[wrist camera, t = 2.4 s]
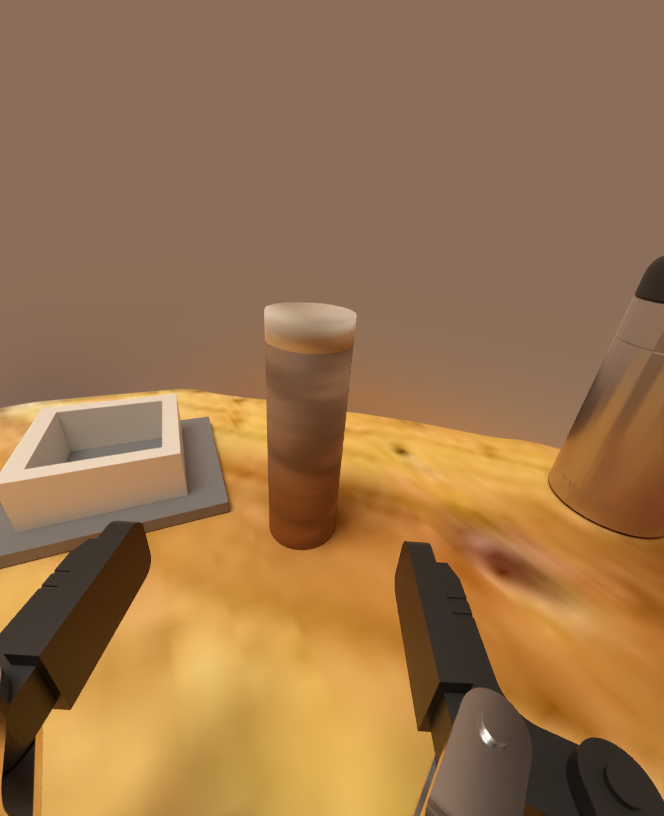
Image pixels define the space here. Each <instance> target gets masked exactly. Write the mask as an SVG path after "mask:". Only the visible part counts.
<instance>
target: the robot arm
mask: <svg viewBox="0 0 664 816" xmlns="http://www.w3.org/2000/svg"><path fill="white" fill-rule="evenodd" d="M635 295H636V296H634V297H633V299H632V301H631V303H630V305H629V307H628V309H627V311H626V314H625V315H624V317H623V320H622V322H621V324H620V326H619V328H618V330H617V332H616V335H615V337H614V339H613V341H612V343H611V345H610V347H609V349H608V352H607V354H606V356H605V358H604V360H603V362H602V365H601V366H600V368H599V370H598V373H597V375H596V377H595V379H594V381H593V383H592V385H591V387H590V389H589V392H588V394H587V396H586V398H585V400H584V402H583V404H582V406H581V408H580V410H579V412H578V414H577V417H576V419H575V421H574V423H573V425H572V427H571V429H570V431H569V433H568V435H567V438H566V440H565V442H564V444H563V446H562V448H561V450H560V452H559V454H558V456H557V459H556V461H555V463H554V465H553V467H552V469H551V471H550V473H549V476H548V479H549V483H550V486H551V488H552V489H553V491H554V492H555V493H556V495H557V496H558V497H559V498H560V499H561V500H562V501H563V502H565V503H566V504H567V505H568V506H570V507H571V508H572V509H574V510H575V511H577V512H578V513H580V514H581V515H583V516H585V517H586V518H588V519H590V520H592V521H594V522H596V523H598V524H600V525H602V526H605V527H607V528H610V529H612V530H615V531H618V532H621V533H625V534H628V535H633V536H638V537H650V538H654V537H660V536H663V535H664V256H662V257H659V258H658V259H656V260H655V261H654V262H652V264H651V265H650V266H649V267H648V268H647V270H646V272H645V274H644V276H643V278H642V280H641V282H640V284H639V286H638V288H637V290H636V292H635ZM150 564H151V554H150V550H149V546H148V542H147V538H146V534H145V530H144V526H143V524H142V523H141V522H130V521H112V522H111V523H109V524H108V525H107V527H106V528H105V529H104V530H103V532H102V533H101V534H100V535H99V536H98V538H89V539H88V540H86V541H85V542H84V543H82V544H81V545H80V546H78V547H77V548H75V549H74V550H73V551H71V552H70V553H69V554H68V555H67V556H66V558H65V559H64V560H63V561H62V562H61V563H60V565H59V566H58V567H57V568H56V569H55V572H54V573H53V574H51V575H50V576H49V577H48V578H47V580H46V581H45V582H44V583H43V584H42V587H41V589H38V590H37V591H36V592H35V594H34V595H33V596H32V597H31V598H30V599H29V601H28V602H27V603H26V604H25V605H24V606H23V608H22V609H21V610H20V611H19V612H18V613H17V614H16V616H15V617H14V618H13V619H12V620H11V621H10V623H9V624H8V625H7V626H6V627H5V628H4V630H3V631H2V632H1V633H0V816H41V804H42V753H43V729H42V725H43V723H44V721H45V720H46V718H47V717H48V715H49V713H50V712H51V710H52V709H64V710H71V708H72V707H73V705H74V703H75V701H76V700H77V698H78V696H79V694H80V693H81V691H82V689H83V687H84V686H85V684H86V682H87V680H88V679H89V677H90V675H91V673H92V672H93V670H94V668H95V666H96V665H97V663H98V661H99V659H100V658H101V656H102V654H103V652H104V651H105V649H106V647H107V645H108V643H109V642H110V640H111V638H112V636H113V635H114V633H115V631H116V629H117V628H118V626H119V624H120V622H121V621H122V619H123V617H124V615H125V614H126V612H127V610H128V608H129V607H130V605H131V603H132V601H133V600H134V598H135V596H136V594H137V593H138V591H139V589H140V587H141V586H142V584H143V582H144V580H145V579H146V577H147V574H148V572H149V568H150ZM395 595H396V601H397V607H398V613H399V619H400V626H401V632H402V638H403V644H404V650H405V656H406V662H407V668H408V674H409V680H410V686H411V692H412V698H413V704H414V710H415V717H416V723H417V729H418V731H424V732H431V734H432V740H433V745H434V750H435V753H434V755H433V758H432V761H431V764H430V766H429V769H428V772H427V775H426V777H425V780H424V783H423V786H422V788H421V791H420V794H419V797H418V799H417V802H416V805H415V808H414V810H413V813H412V816H664V801H663V799H662V797H661V795H660V793H659V792H658V790H657V788H656V787H655V785H654V783H653V782H652V780H651V779H650V778H649V776H648V775H647V774H646V772H645V771H644V770H643V769H642V768H641V766H640V765H639V764H638V763H637V762H636V761H635V760H634V759H633V758H632V757H631V756H630V755H628V754H627V753H626V752H625V751H624V750H622V749H621V748H619V747H618V746H616V745H615V744H613V743H611V742H609V741H607V740H604V739H601V738H588V739H586V740H584V741H583V742H582V743H581V744H580V745H578V744H575V743H573V742H571V741H569V740H567V739H564V738H562V737H560V736H558V735H556V734H553V733H551V732H549V731H547V730H544V729H542V728H540V727H538V726H536V725H534V724H533V723H531V722H530V721H528V720H527V719H525V718H524V717H523V716H522V715H521V714H519V712H518V711H517V710H516V709H515V707H514V706H513V705H512V704H511V703H510V702H509V701H508V700H507V699H506V697H505V696H504V694H503V693H502V691H501V689H500V687H499V685H498V683H497V681H496V678H495V675H494V672H493V670H492V667H491V664H490V661H489V659H488V656H487V653H486V650H485V648H484V645H483V642H482V639H481V637H480V634H479V631H478V628H477V626H476V623H475V620H474V618H473V617H472V612H471V609H470V606H469V604H468V602H467V600H466V595H465V593H464V590H463V587H462V584H461V581H460V579H459V578H458V576H457V575H456V574H455V573H454V571H453V570H452V569H451V567H450V566H449V565H448V564H447V563H439V562H436V560H435V557H434V554H433V551H432V548H431V545H430V544H429V543H423V542H408V541H404V543H403V545H402V549H401V553H400V557H399V561H398V565H397V569H396V573H395Z"/></svg>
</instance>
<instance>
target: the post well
mask: <svg viewBox="0 0 664 816" xmlns="http://www.w3.org/2000/svg"><path fill="white" fill-rule="evenodd" d="M226 512H229V503H228V498H227V494H226V489H225V485H224V481H223V477H222V472H221V468H220V464H219V459H218V455H217V451H216V446H215V442H214V438H213V433H212V429H211V425H210V420H209V417H203V418H195V419H188V420H180V414H179V408H178V402H177V396H176V394H169V395H160V396H150V397H141V398H131V399H122V400H112V401H103V402H93V403H84V404H74V405H65V406H55V407H46V408H42V409H41V411H40V412H39V414H38V415H37V417H36V418H35V420H34V421H33V423H32V424H31V426H30V427H29V429H28V431H27V432H26V434H25V435H24V437H23V438H22V440H21V441H20V443H19V444H18V446H17V447H16V449H15V450H14V452H13V453H12V455H11V457H10V458H9V460H8V461H7V463H6V464H5V466H4V467H3V469H2V470H1V472H0V568H4V567H8V566H12V565H16V564H20V563H24V562H28V561H32V560H36V559H40V558H44V557H48V556H52V555H56V554H60V553H64V552H68V551H73V550H74V549H75V548H77V547H78V546H80V545H81V544H82V543H84V542H85V541H86V540H88V539H89V538H98V536H99V535H100V534H101V533H102V532H103V530H104V529H105V528H106V527H107V525H108V524H109V523H111V522H112V521H130V522H141V523H142V524H143V526H144V530H145V532H149V531H153V530H157V529H161V528H165V527H169V526H173V525H177V524H181V523H185V522H190V521H194V520H198V519H202V518H206V517H210V516H214V515H218V514H222V513H226Z"/></svg>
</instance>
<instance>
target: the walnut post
mask: <svg viewBox="0 0 664 816" xmlns="http://www.w3.org/2000/svg"><path fill="white" fill-rule="evenodd" d="M264 317H265V355H266V356H265V357H266V358H265V359H266V395H267V396H266V400H267V442H268V483H269V525H270V531H271V533H272V535H273V537H274V538H275V539H276V540H277V541H278V542H279V543H280V544H282V545H284V546H286V547H288V548H291V549H297V550H306V549H312V548H315V547H318V546H320V545H322V544H323V543H325V542H326V541H327V540H328V539H329V538H330V537H331V535H332V533H333V531H334V527H335V518H336V508H337V498H338V489H339V479H340V469H341V460H342V450H343V440H344V431H345V421H346V411H347V402H348V392H349V383H350V373H351V362H352V353H353V344H354V334H355V325H356V313H355V312H353V311H352V310H349V309H347V308H343V307H339V306H334V305H328V304H320V303H306V302H305V303H304V302H289V303H278V304H273V305H269V306H267V307H265V309H264Z"/></svg>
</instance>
